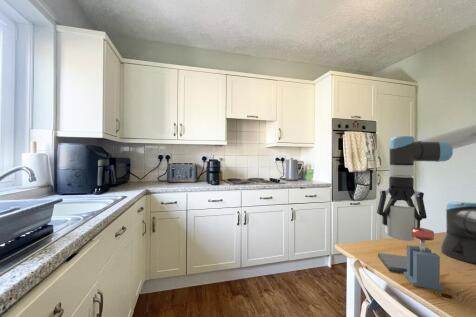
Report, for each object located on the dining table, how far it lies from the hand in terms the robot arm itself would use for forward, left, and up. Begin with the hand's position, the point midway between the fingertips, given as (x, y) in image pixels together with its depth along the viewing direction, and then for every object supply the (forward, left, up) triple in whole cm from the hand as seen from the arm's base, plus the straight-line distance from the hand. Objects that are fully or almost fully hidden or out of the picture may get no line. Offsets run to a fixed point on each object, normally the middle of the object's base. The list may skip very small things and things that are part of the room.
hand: (400, 234), depth 82 cm
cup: (0, 0, -1) cm, 1 cm away
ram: (-2, +11, -5) cm, 12 cm away
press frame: (-2, +11, -12) cm, 16 cm away
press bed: (0, 0, -12) cm, 12 cm away
